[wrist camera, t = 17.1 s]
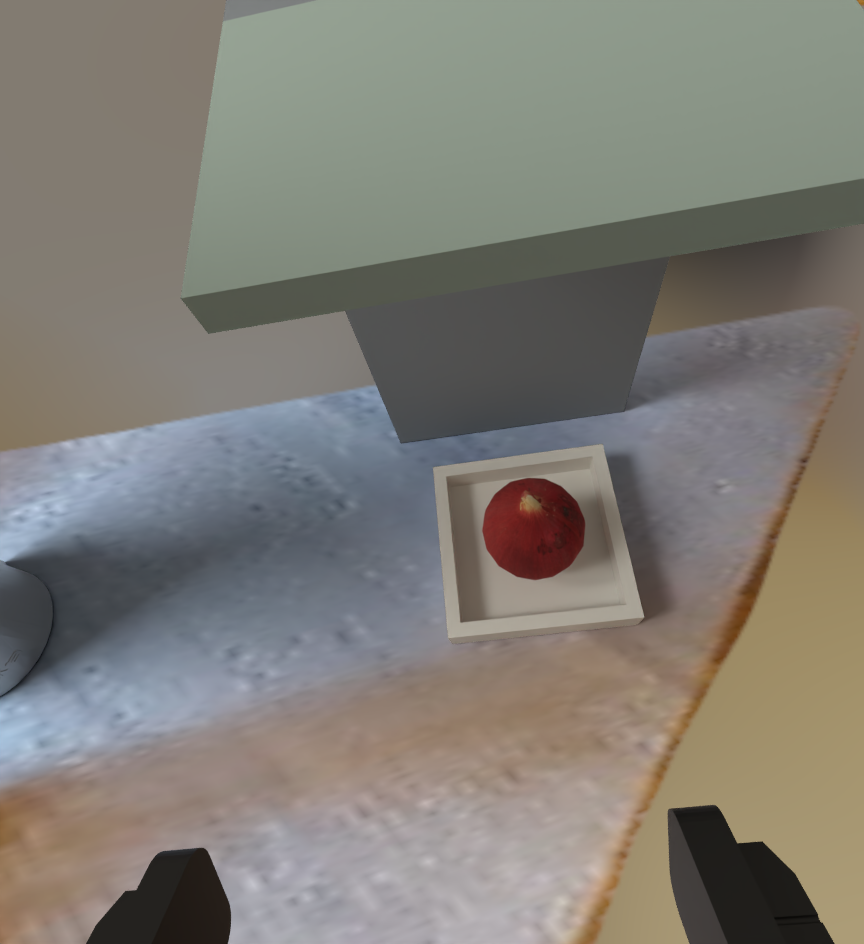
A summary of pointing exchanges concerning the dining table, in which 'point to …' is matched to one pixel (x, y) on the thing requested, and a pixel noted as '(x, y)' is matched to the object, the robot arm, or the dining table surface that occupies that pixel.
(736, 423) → the dining table surface
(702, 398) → the dining table surface
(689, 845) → the robot arm
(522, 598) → the tray
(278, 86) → the inverted l bracket
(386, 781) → the dining table surface
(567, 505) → the onion
